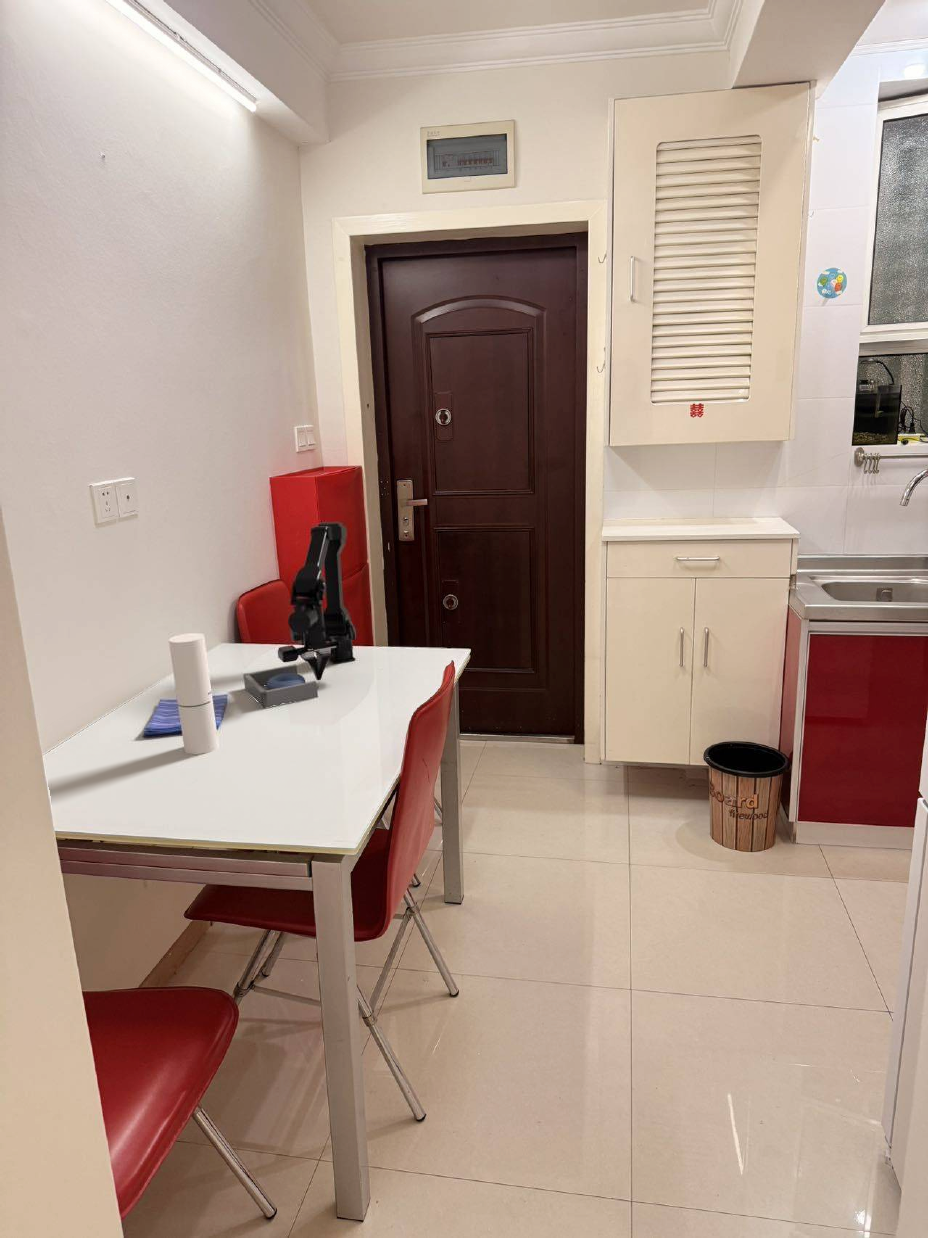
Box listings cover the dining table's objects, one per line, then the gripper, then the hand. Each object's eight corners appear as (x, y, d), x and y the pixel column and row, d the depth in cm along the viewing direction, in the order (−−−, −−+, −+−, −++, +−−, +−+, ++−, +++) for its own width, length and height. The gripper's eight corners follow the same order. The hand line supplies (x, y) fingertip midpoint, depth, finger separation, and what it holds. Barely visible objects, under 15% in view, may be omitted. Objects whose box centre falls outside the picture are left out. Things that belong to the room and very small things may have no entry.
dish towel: (141, 741, 191) (140, 730, 191) (159, 706, 214) (157, 696, 213) (219, 733, 194) (218, 721, 193) (229, 699, 217) (227, 689, 216)
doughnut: (266, 686, 223) (265, 670, 221) (304, 683, 225) (303, 667, 224) (268, 702, 214) (267, 685, 212) (307, 698, 216) (307, 682, 215)
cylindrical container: (223, 741, 187) (209, 632, 181) (211, 754, 181) (195, 642, 174) (192, 741, 188) (177, 633, 182) (179, 754, 181) (162, 642, 175)
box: (296, 678, 229) (295, 664, 228) (318, 697, 213) (316, 682, 212) (245, 688, 223) (243, 674, 222) (263, 708, 207) (261, 693, 206)
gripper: (337, 610, 229) (342, 665, 233) (269, 622, 221) (275, 678, 225) (351, 619, 220) (356, 676, 224) (280, 631, 212) (287, 690, 216)
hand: (318, 679), depth 222 cm, fingers closed
